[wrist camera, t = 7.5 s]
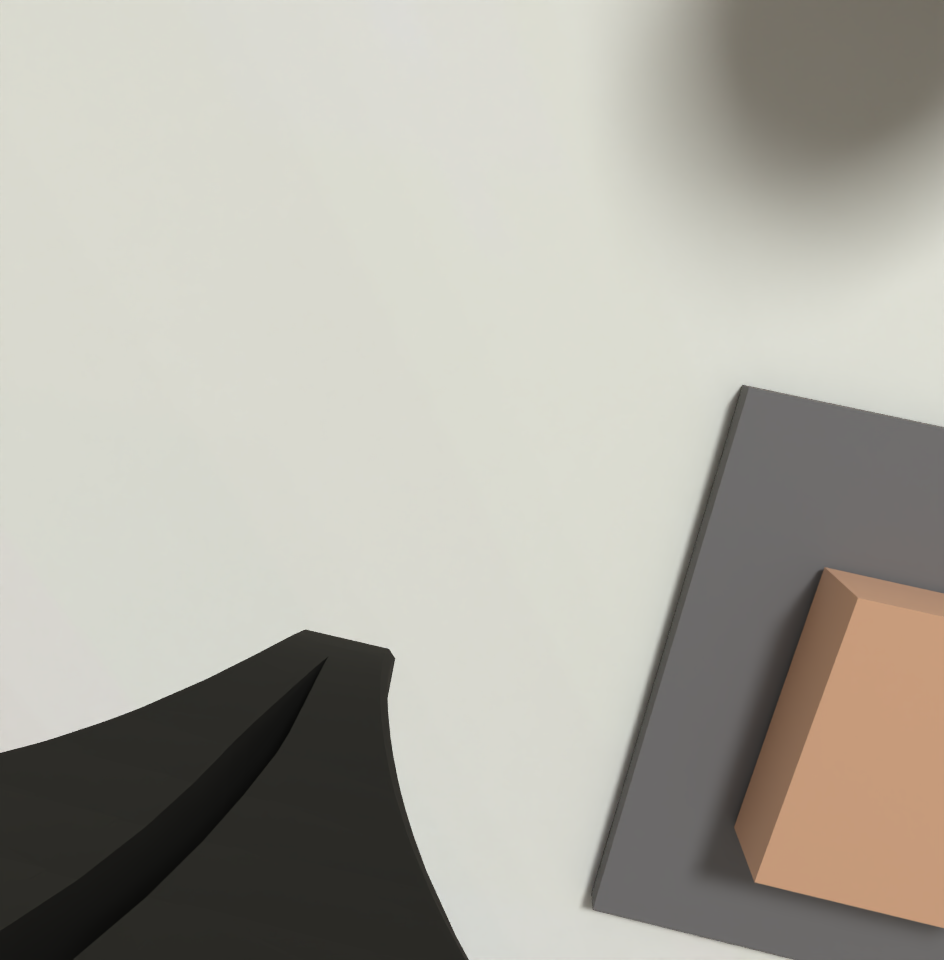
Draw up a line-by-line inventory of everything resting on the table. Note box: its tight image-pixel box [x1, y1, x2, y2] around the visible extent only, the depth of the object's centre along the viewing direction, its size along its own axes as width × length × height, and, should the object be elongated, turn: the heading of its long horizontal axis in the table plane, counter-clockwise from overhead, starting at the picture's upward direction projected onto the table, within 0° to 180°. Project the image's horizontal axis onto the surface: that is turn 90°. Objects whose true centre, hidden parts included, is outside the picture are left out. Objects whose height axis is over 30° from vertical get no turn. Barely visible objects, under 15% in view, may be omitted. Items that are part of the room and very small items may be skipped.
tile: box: [734, 567, 944, 928], centre depth 18 cm, size 8×2×7 cm
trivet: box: [592, 385, 944, 960], centre depth 19 cm, size 16×15×1 cm
